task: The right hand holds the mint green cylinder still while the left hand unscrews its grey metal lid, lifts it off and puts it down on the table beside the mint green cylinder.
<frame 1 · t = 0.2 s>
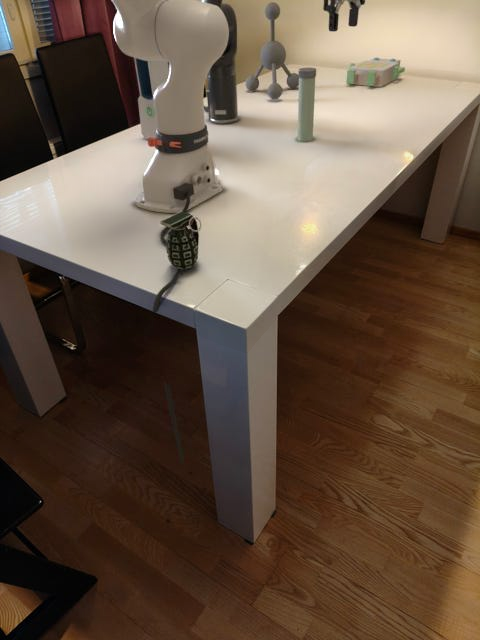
right hand: (343, 28, 122), 29 cm above the table, tool pointing down, fingers open, 8 cm apart
lid: (307, 70, 134), point 19 cm above the table, screwed on, not yet turned
molecular model: (277, 92, 192), on the table
mint green cylinder: (305, 139, 146), on the table
grey box with clips: (372, 81, 199), on the table
electronic device: (163, 138, 153), on the table
grenade: (185, 266, 91), on the table
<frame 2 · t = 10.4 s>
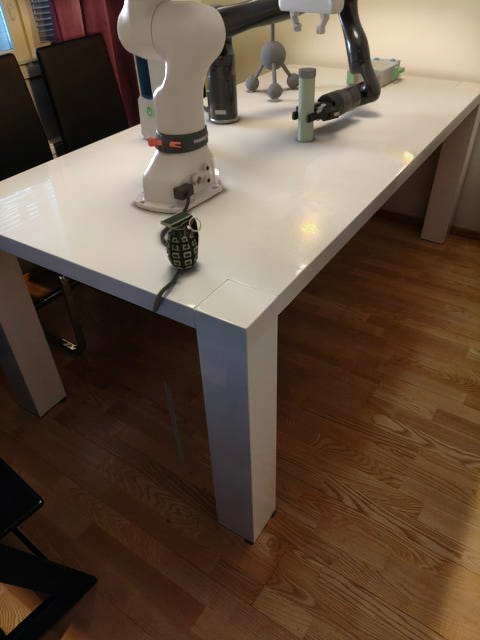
left hand: (308, 32, 129), 28 cm above the table, tool pointing down, fingers open, 7 cm apart
right hand: (300, 117, 140), 7 cm above the table, tool horizontal, fingers closed on mint green cylinder, 4 cm apart
mint green cylinder: (305, 139, 146), on the table, touching right hand
everything else where it was.
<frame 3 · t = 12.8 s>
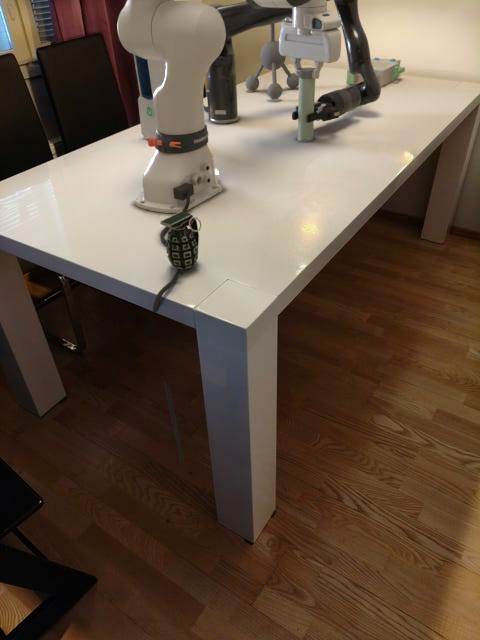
left hand: (307, 77, 135), 17 cm above the table, tool pointing down, fingers closed on lid, 5 cm apart
right hand: (300, 117, 140), 7 cm above the table, tool horizontal, fingers closed on mint green cylinder, 4 cm apart
lid: (307, 70, 134), point 19 cm above the table, screwed on, not yet turned, touching left hand
mint green cylinder: (305, 139, 146), on the table, touching right hand
everything else where it was.
when the left hand's fingers open (17 cm above the table, at t = 13.9 s): lid stays where it is, point 19 cm above the table.
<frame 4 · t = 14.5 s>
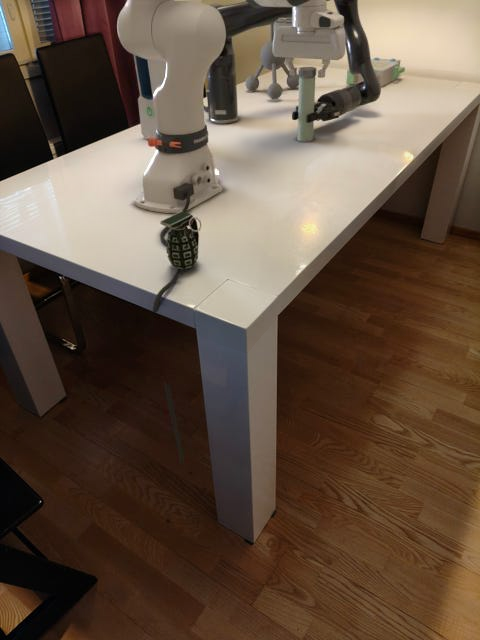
left hand: (307, 76, 135), 17 cm above the table, tool pointing down, fingers open, 7 cm apart
right hand: (300, 117, 140), 7 cm above the table, tool horizontal, fingers closed on mint green cylinder, 4 cm apart
lid: (307, 69, 134), point 19 cm above the table, turned 63° so far, risen 0.2 cm, still on its thread
mint green cylinder: (305, 139, 146), on the table, touching right hand
everything else where it was.
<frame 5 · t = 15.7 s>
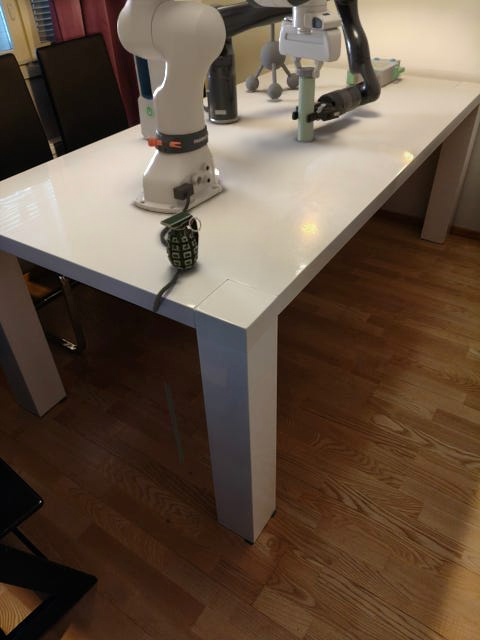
left hand: (307, 76, 135), 17 cm above the table, tool pointing down, fingers closed on lid, 5 cm apart
right hand: (300, 117, 140), 7 cm above the table, tool horizontal, fingers closed on mint green cylinder, 4 cm apart
lid: (307, 69, 134), point 19 cm above the table, turned 63° so far, risen 0.2 cm, still on its thread, touching left hand
mint green cylinder: (305, 139, 146), on the table, touching right hand
everything else where it was.
when the left hand's fingers open (2 cm above the table, at t = 21.9 s): lid drops 2 cm, point 1 cm above the table.
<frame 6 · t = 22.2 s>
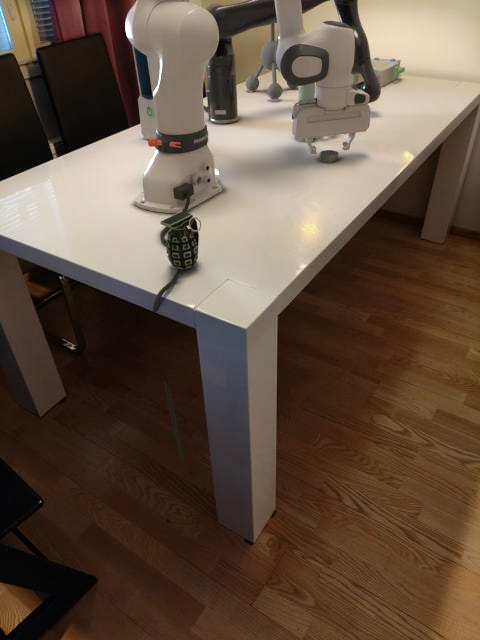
left hand: (329, 151, 130), 2 cm above the table, tool pointing down, fingers open, 8 cm apart
right hand: (300, 117, 140), 7 cm above the table, tool horizontal, fingers closed on mint green cylinder, 4 cm apart
lid: (328, 154, 131), point 1 cm above the table, off its thread
mint green cylinder: (305, 139, 146), on the table, touching right hand
everything else where it was.
when the right hand's fingers open (7 cm above the table, at t = 22.9 s): mint green cylinder stays where it is, on the table.
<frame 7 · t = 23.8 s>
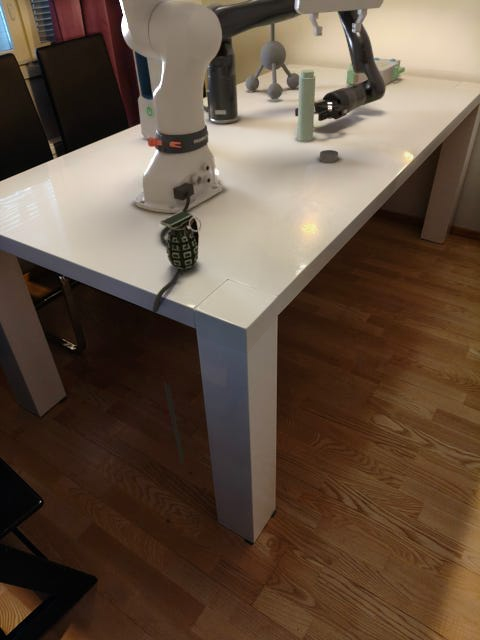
left hand: (337, 34, 114), 30 cm above the table, tool pointing down, fingers open, 8 cm apart
right hand: (307, 115, 142), 7 cm above the table, tool horizontal, fingers open, 8 cm apart
mint green cylinder: (305, 139, 146), on the table
everything else where it was.
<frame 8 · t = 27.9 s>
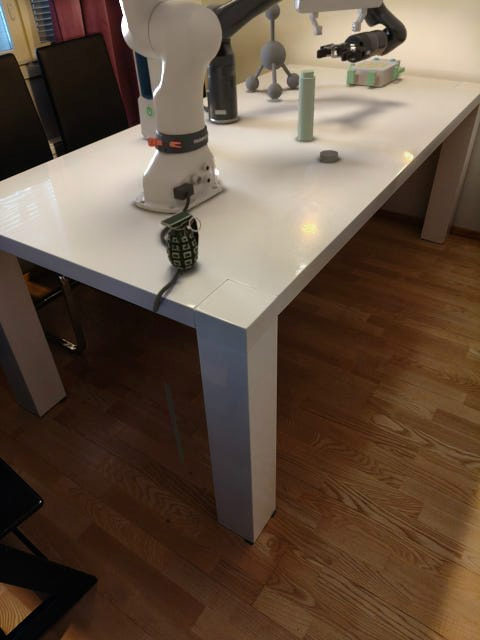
left hand: (337, 33, 113), 30 cm above the table, tool pointing down, fingers open, 8 cm apart
right hand: (330, 55, 139), 21 cm above the table, tool horizontal, fingers open, 8 cm apart
nothing on the table moved.
at the end: lid came off its thread; lid point 1.3 cm above the table; the left hand is holding nothing; the right hand is holding nothing; mint green cylinder tilted 0°; mint green cylinder moved 0.0 cm from its start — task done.
